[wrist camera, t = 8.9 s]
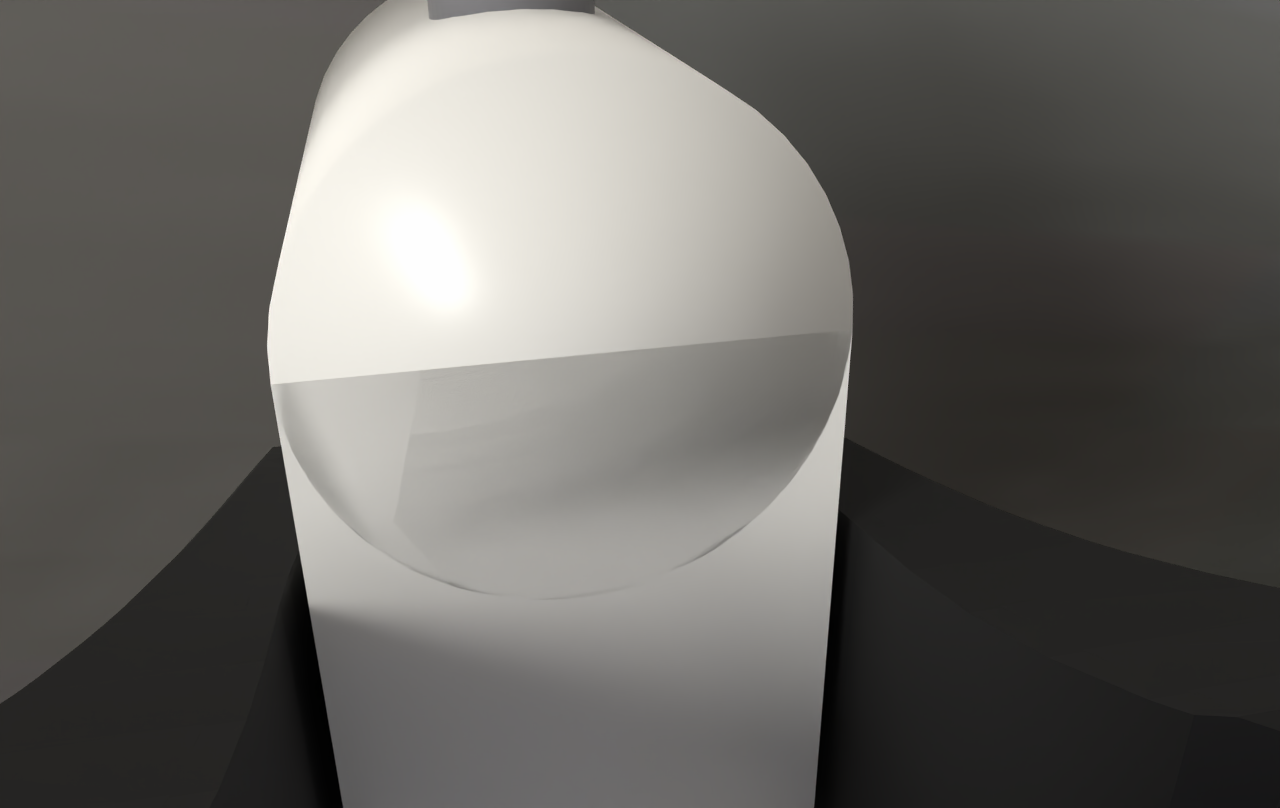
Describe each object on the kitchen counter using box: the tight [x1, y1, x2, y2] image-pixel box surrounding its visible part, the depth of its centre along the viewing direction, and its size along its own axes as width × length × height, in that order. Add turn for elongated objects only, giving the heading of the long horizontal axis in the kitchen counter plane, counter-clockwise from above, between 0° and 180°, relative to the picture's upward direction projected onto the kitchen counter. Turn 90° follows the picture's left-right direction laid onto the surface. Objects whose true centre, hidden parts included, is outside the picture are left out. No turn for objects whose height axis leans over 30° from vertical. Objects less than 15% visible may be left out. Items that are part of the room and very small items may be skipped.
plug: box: [267, 0, 853, 808], centre depth 10 cm, size 13×4×5 cm, turn 1°
